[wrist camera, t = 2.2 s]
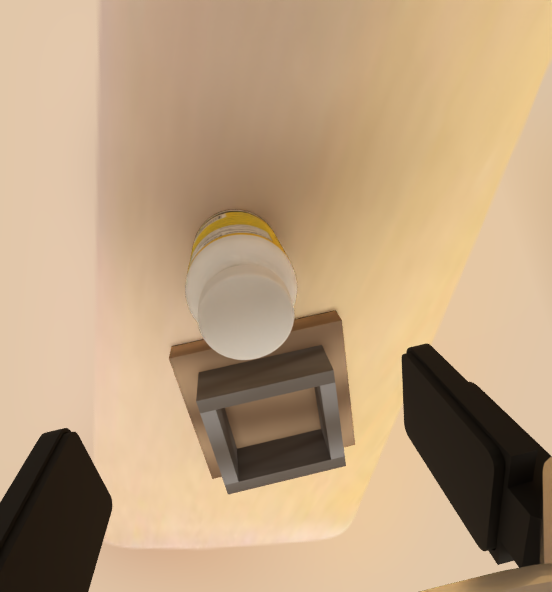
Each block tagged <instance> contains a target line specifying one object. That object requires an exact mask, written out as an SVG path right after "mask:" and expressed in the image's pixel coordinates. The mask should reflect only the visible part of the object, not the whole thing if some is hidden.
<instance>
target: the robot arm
mask: <svg viewBox="0 0 552 592" xmlns="http://www.w3.org/2000/svg"><path fill="white" fill-rule="evenodd" d="M402 379H403V404H404V425H405V429H406V432H407V435H408V436H409V438H410V440H411V441H412V443H413V445H414V446H415V448H416V449H417V451H418V452H419V454H420V455H421V457H422V459H423V460H424V462H425V463H426V465H427V467H428V468H429V470H430V471H431V473H432V474H433V476H434V478H435V479H436V481H437V482H438V484H439V485H440V487H441V489H442V490H443V492H444V493H445V495H446V496H447V498H448V500H449V501H450V503H451V504H452V506H453V507H454V509H455V510H456V512H457V514H458V515H459V517H460V518H461V520H462V522H463V523H464V525H465V526H466V528H467V529H468V531H469V532H470V534H471V536H472V537H473V539H474V540H475V542H476V543H477V545H478V546H479V548H480V549H481V550H483V551H487V550H488V551H489V552H490V554H491V555H492V556H493V558H494V560H495V561H496V563H497V564H498V565H499V564H502V563H506V562H510V561H515V562H516V564H517V565H518V567H519V568H516V569H510V570H505V571H500V572H496V573H492V574H488V575H484V576H480V577H476V578H471V579H468V580H463V581H459V582H456V583H451V584H447V585H444V586H439V587H435V588H431V589H427V590H424V591H420V592H552V456H551V455H549V453H547V452H546V451H545V450H544V449H543V448H542V447H541V446H540V445H539V444H538V443H537V442H536V441H535V440H534V439H533V438H532V437H530V435H529V434H528V433H526V432H525V431H524V430H523V429H522V428H521V427H520V426H519V425H518V424H517V423H516V422H515V421H514V420H513V419H512V418H511V417H510V416H509V415H508V414H507V413H506V412H504V411H503V410H502V409H501V408H500V407H499V406H498V405H497V404H496V403H495V402H494V401H493V400H492V399H491V398H490V397H489V396H488V395H487V394H485V392H483V391H482V390H481V389H480V388H479V387H478V386H477V385H476V384H474V383H472V382H468V381H467V380H466V379H465V378H464V377H463V376H461V375H460V374H459V372H457V371H456V370H455V369H454V368H453V367H452V366H451V365H450V364H449V363H448V362H447V361H446V360H445V359H444V358H443V357H442V356H441V355H440V354H439V353H438V352H437V351H436V350H435V349H434V348H433V347H432V346H431V345H429V344H423V345H418V346H414V347H410V348H408V349H407V354H403V355H402ZM111 511H112V499H111V496H110V494H109V492H108V490H107V488H106V486H105V484H104V483H103V481H102V479H101V477H100V475H99V473H98V471H97V469H96V468H95V466H94V464H93V462H92V460H91V458H90V456H89V454H88V453H87V451H86V449H85V447H84V445H83V443H82V441H81V439H80V437H79V435H78V434H77V433H76V432H71V431H70V430H69V429H68V428H64V429H59V430H55V431H51V432H47V433H44V434H42V435H41V437H40V438H39V440H38V441H37V443H36V444H35V446H34V448H33V449H32V451H31V453H30V454H29V456H28V458H27V459H26V461H25V463H24V464H23V466H22V468H21V469H20V471H19V473H18V474H17V476H16V478H15V479H14V481H13V483H12V484H11V486H10V487H9V489H8V491H7V493H6V494H5V496H4V497H3V499H2V501H1V502H0V592H88V591H89V587H90V584H91V580H92V577H93V573H94V570H95V566H96V563H97V560H98V556H99V553H100V549H101V546H102V542H103V539H104V535H105V532H106V529H107V525H108V522H109V518H110V515H111Z"/></svg>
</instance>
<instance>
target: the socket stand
mask: <svg viewBox="0 0 552 592" xmlns="http://www.w3.org/2000/svg"><path fill="white" fill-rule="evenodd" d="M169 360H170V363H171V366H172V368H173V371H174V374H175V377H176V379H177V382H178V385H179V388H180V390H181V393H182V396H183V399H184V401H185V404H186V407H187V410H188V413H189V415H190V418H191V421H192V424H193V426H194V429H195V432H196V435H197V437H198V440H199V443H200V446H201V448H202V451H203V454H204V457H205V459H206V462H207V465H208V468H209V470H210V473H211V476H212V479H214V478H218V477H222V478H223V481H224V484H225V487H226V490H227V493H228V494H232V493H236V492H240V491H244V490H248V489H252V488H257V487H261V486H265V485H269V484H273V483H277V482H281V481H285V480H290V479H294V478H298V477H302V476H306V475H310V474H314V473H318V472H323V471H327V470H331V469H335V468H339V467H343V466H346V463H345V455H344V447H347V446H351V445H355V439H354V430H353V421H352V411H351V402H350V393H349V384H348V374H347V365H346V356H345V346H344V337H343V328H342V320H341V318H340V317H339V315H338V314H337V312H336V311H332V312H327V313H323V314H318V315H314V316H309V317H304V318H300V319H295V320H294V323H293V327H292V330H291V332H290V334H289V336H288V338H287V339H286V340H285V342H284V343H283V344H282V345H281V346H280V347H279V348H277V349H276V350H275V351H273V352H272V353H270V354H268V355H266V356H263V357H261V358H257V359H252V360H237V359H232V358H228V357H225V356H223V355H221V354H219V353H217V352H216V351H215V350H213V349H212V348H211V347H210V346H209V345H208V344H207V343H206V341H205V340H200V341H195V342H191V343H186V344H182V345H177V346H173V347H171V352H170V356H169Z"/></svg>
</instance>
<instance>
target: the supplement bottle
mask: <svg viewBox="0 0 552 592" xmlns="http://www.w3.org/2000/svg"><path fill="white" fill-rule="evenodd" d="M185 293H186V300H187V305H188V307H189V310H190V312H191V314H192V316H193V317H194V319H195V320H196V321H197V323H198V326H199V330H200V332H201V335H202V337H203V338H204V340H205V341H206V343H207V344H208V345H209V346H210V347H211V348H212V349H213V350H215V351H216V352H217V353H219V354H221V355H223V356H225V357H228V358H232V359H237V360H252V359H257V358H261V357H263V356H266V355H268V354H270V353H272V352H273V351H275V350H276V349H277V348H279V347H280V346H281V345H282V344H283V343H284V342H285V340H286V339H287V338H288V336H289V334H290V332H291V330H292V327H293V323H294V315H295V313H294V304H295V301H296V296H297V280H296V275H295V271H294V269H293V266H292V264H291V262H290V260H289V258H288V257H287V255H286V253H285V251H284V250H283V248H282V246H281V244H280V242H279V241H278V239H277V237H276V235H275V234H274V232H273V230H272V229H271V228H270V226H269V225H268V224H267V223H266V222H265V221H264V220H263V219H262V218H260V217H259V216H257V215H255V214H253V213H250V212H247V211H243V210H227V211H223V212H220V213H218V214H215V215H214V216H212V217H210V218H209V219H208V220H207V221H206V222H205V223H204V224H203V225H202V226H201V228H200V229H199V231H198V233H197V235H196V237H195V240H194V243H193V249H192V253H191V258H190V263H189V268H188V272H187V278H186V286H185Z"/></svg>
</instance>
